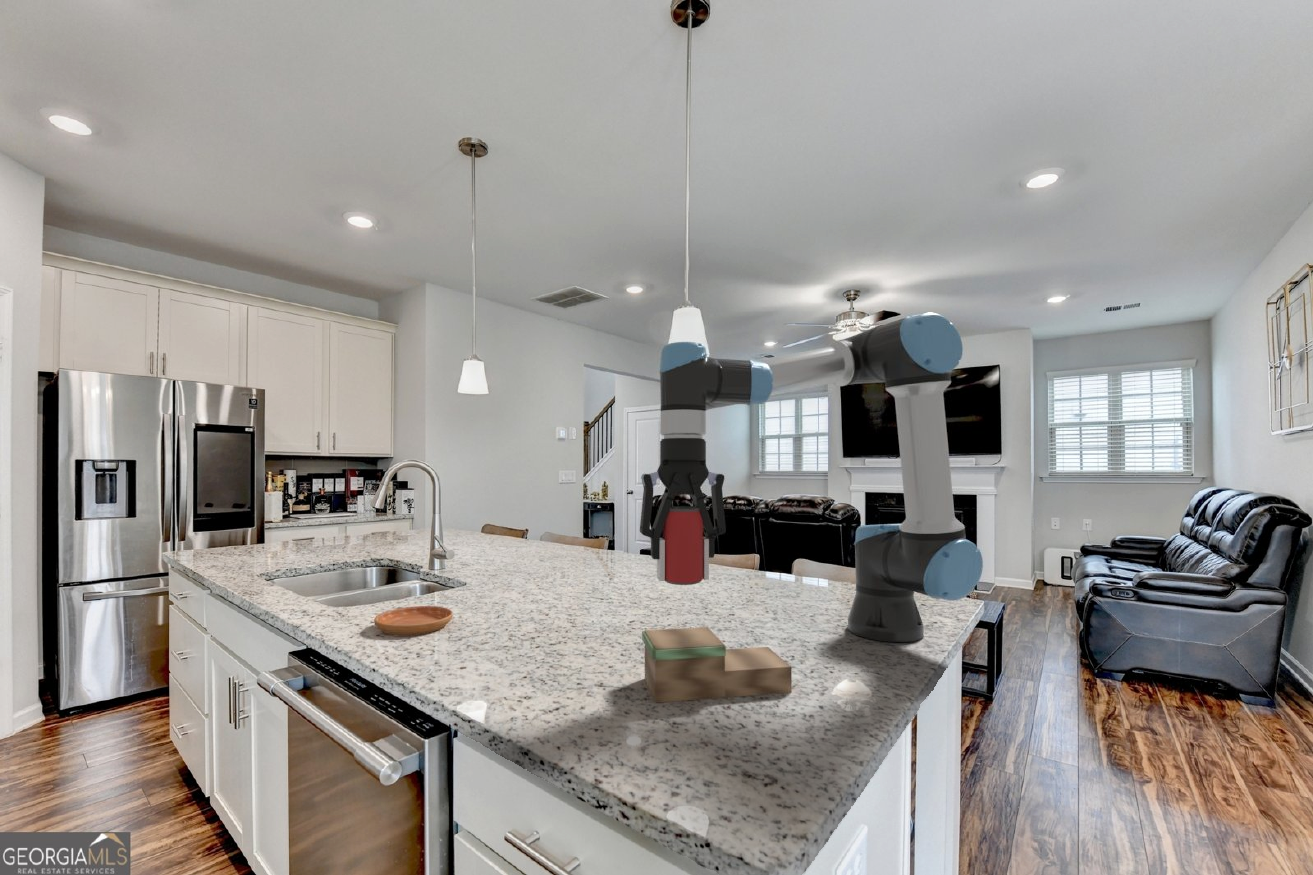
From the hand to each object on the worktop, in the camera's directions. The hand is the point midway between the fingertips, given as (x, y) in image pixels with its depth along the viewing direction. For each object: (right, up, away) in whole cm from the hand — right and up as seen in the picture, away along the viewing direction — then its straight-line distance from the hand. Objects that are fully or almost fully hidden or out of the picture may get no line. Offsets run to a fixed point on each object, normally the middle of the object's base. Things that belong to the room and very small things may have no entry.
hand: (682, 578), depth 96 cm
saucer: (-58, -19, +33) cm, 69 cm away
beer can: (0, -1, 0) cm, 1 cm away
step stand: (+5, -18, 0) cm, 18 cm away
